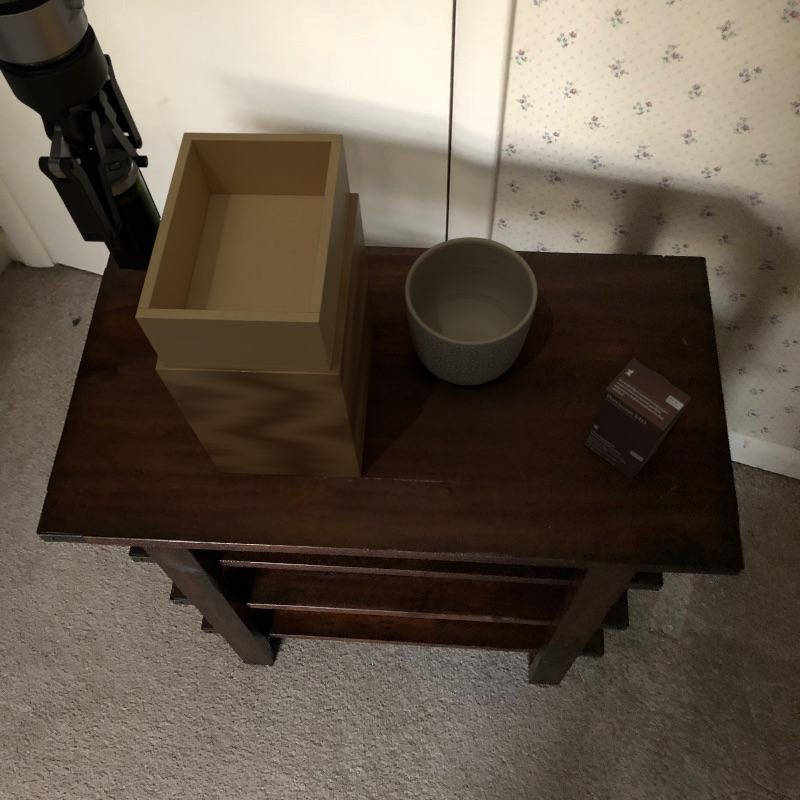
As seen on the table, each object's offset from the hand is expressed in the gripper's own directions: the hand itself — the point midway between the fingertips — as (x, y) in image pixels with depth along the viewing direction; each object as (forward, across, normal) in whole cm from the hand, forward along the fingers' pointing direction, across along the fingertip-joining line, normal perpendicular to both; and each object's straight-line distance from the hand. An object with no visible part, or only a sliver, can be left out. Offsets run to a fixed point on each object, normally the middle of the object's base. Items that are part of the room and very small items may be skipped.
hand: (140, 242), depth 77 cm
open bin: (-11, -12, -16) cm, 23 cm away
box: (+9, -17, -48) cm, 52 cm away
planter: (+9, -6, -33) cm, 35 cm away
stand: (+9, -12, -16) cm, 22 cm away
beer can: (+2, 0, 0) cm, 2 cm away
